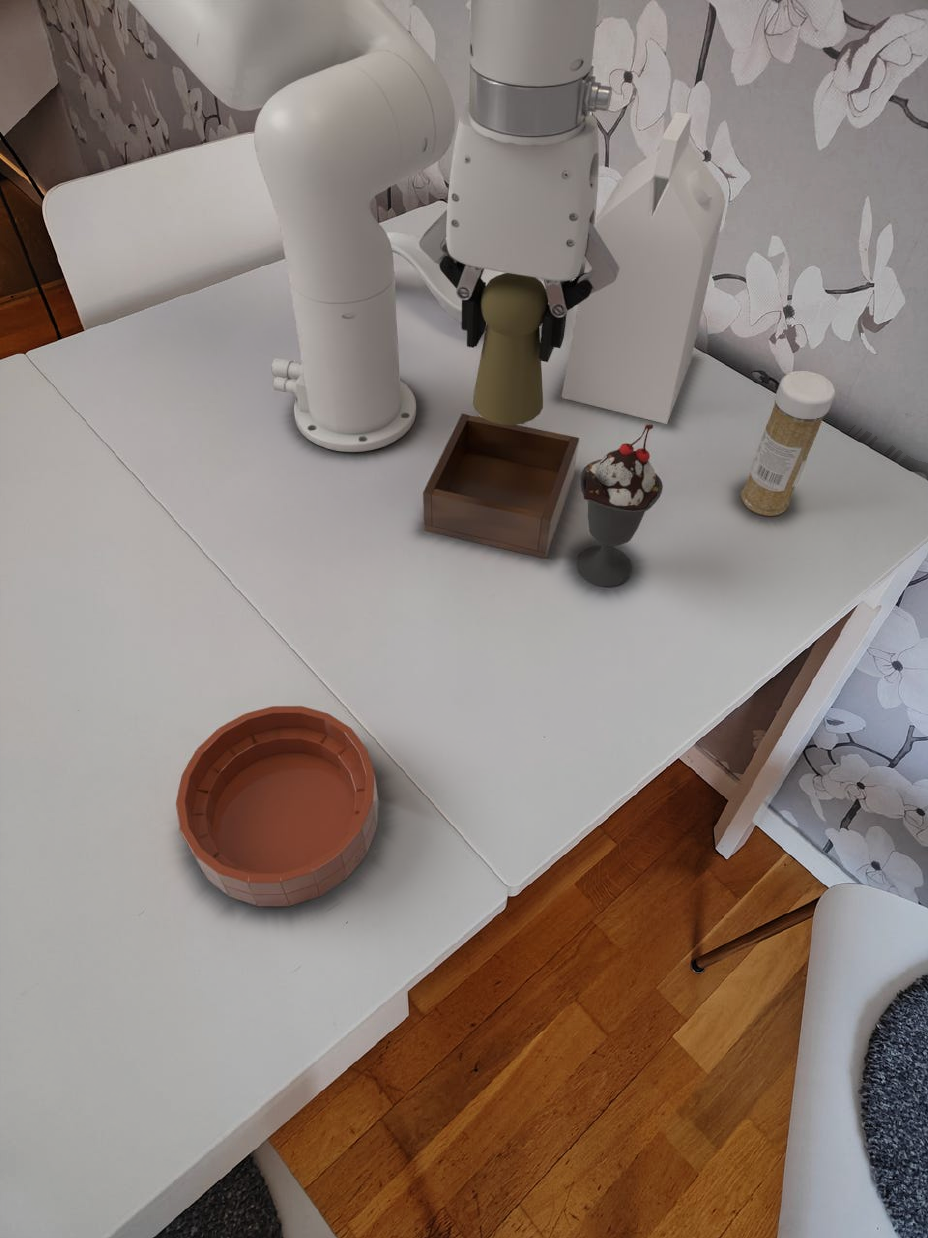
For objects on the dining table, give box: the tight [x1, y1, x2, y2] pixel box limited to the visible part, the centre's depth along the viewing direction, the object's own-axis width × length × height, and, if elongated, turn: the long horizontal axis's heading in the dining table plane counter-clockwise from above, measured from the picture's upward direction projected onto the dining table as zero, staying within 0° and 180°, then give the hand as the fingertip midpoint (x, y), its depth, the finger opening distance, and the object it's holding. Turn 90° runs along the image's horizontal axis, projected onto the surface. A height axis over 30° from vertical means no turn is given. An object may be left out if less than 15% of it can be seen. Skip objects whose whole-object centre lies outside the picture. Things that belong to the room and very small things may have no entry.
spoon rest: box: [385, 231, 505, 331], centre depth 101 cm, size 24×12×7 cm, turn 69°
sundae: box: [575, 424, 664, 587], centre depth 72 cm, size 7×7×15 cm
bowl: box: [175, 705, 379, 907], centre depth 61 cm, size 13×13×4 cm
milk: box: [561, 111, 726, 425], centre depth 85 cm, size 12×12×26 cm
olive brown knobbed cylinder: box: [472, 273, 549, 425], centre depth 69 cm, size 6×6×11 cm
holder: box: [422, 413, 580, 559], centre depth 81 cm, size 12×12×5 cm
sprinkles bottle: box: [741, 370, 836, 517], centre depth 78 cm, size 5×5×13 cm
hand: (511, 342), depth 69 cm, fingers closed on olive brown knobbed cylinder, 5 cm apart
